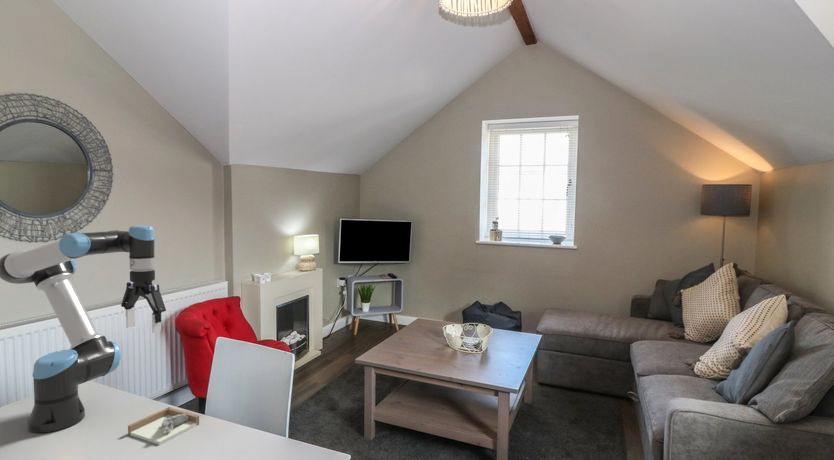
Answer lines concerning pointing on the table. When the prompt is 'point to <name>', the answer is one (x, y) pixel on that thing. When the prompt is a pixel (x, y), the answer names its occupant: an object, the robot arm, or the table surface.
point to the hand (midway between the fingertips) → (143, 329)
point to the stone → (173, 422)
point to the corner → (153, 423)
